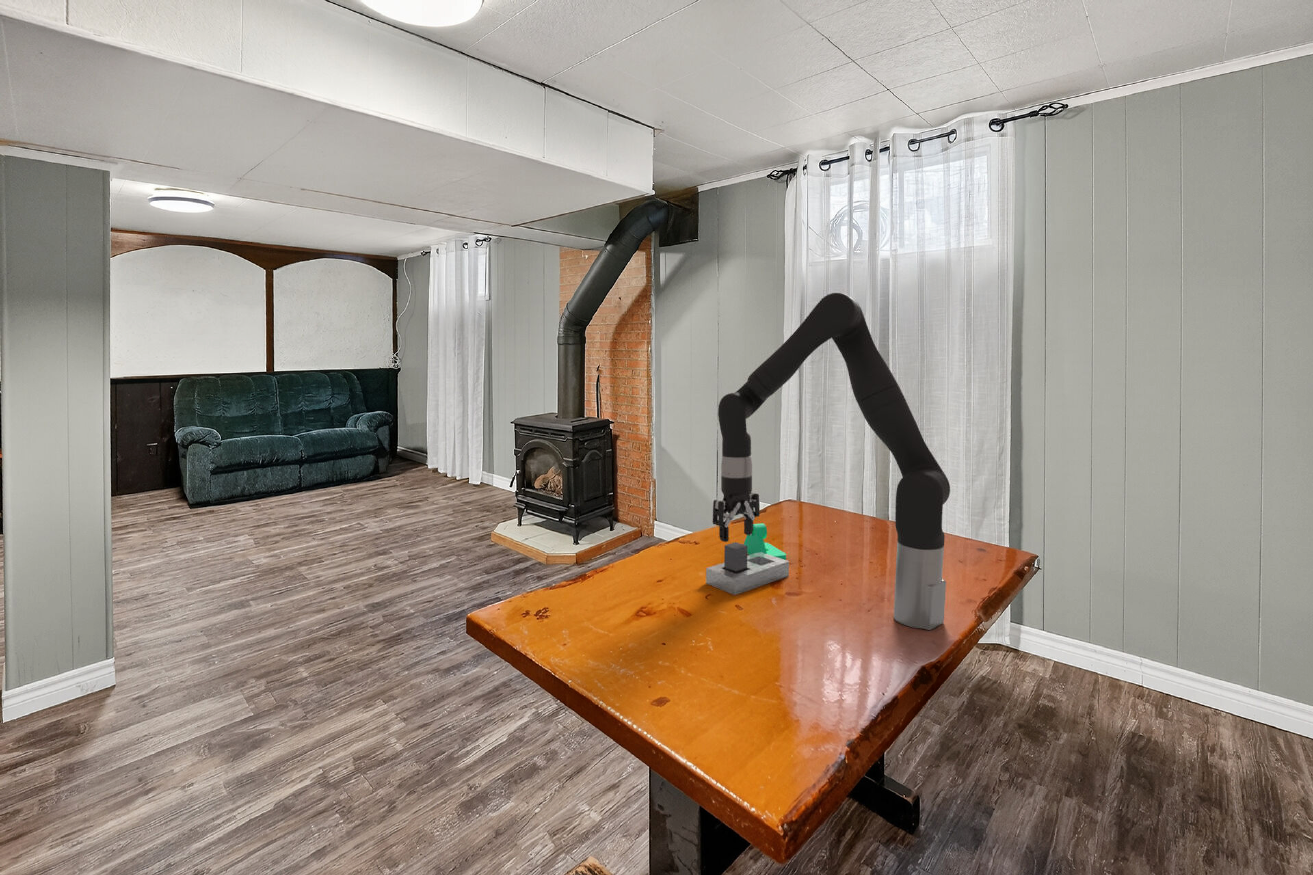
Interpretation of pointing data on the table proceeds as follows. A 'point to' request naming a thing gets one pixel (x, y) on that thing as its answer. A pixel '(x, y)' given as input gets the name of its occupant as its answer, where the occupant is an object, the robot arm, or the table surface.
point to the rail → (748, 574)
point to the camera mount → (761, 542)
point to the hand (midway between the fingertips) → (736, 537)
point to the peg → (735, 558)
